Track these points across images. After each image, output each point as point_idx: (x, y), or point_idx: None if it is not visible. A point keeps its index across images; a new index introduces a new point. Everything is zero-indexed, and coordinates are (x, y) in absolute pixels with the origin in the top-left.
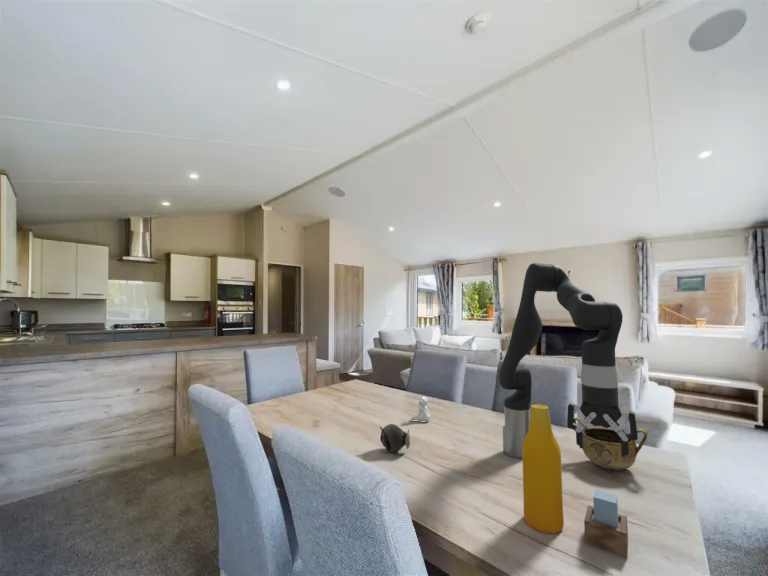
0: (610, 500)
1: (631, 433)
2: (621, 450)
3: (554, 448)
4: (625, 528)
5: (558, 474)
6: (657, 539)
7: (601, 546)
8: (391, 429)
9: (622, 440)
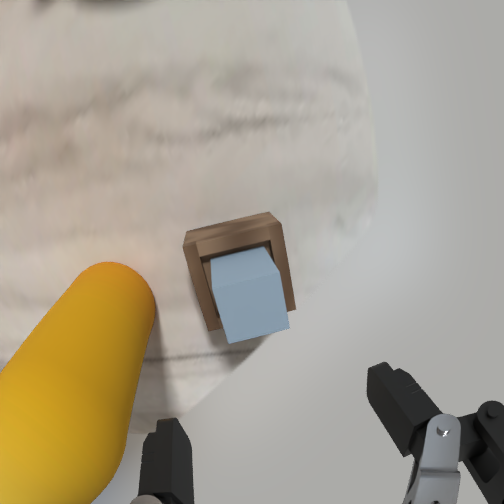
0: (272, 324)
1: (471, 470)
2: (381, 421)
3: (111, 474)
4: (290, 289)
5: (132, 399)
6: (316, 160)
7: None
8: None
9: (412, 449)
